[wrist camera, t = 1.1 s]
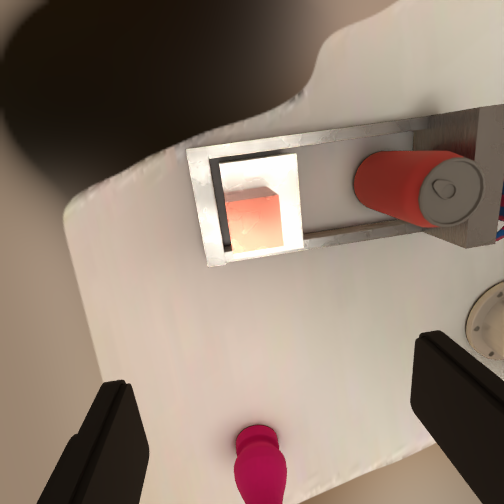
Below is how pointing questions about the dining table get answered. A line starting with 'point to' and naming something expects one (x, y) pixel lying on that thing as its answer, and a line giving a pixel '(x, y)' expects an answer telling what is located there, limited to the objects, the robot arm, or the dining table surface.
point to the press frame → (424, 139)
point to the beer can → (421, 186)
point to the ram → (262, 204)
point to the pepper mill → (260, 466)
